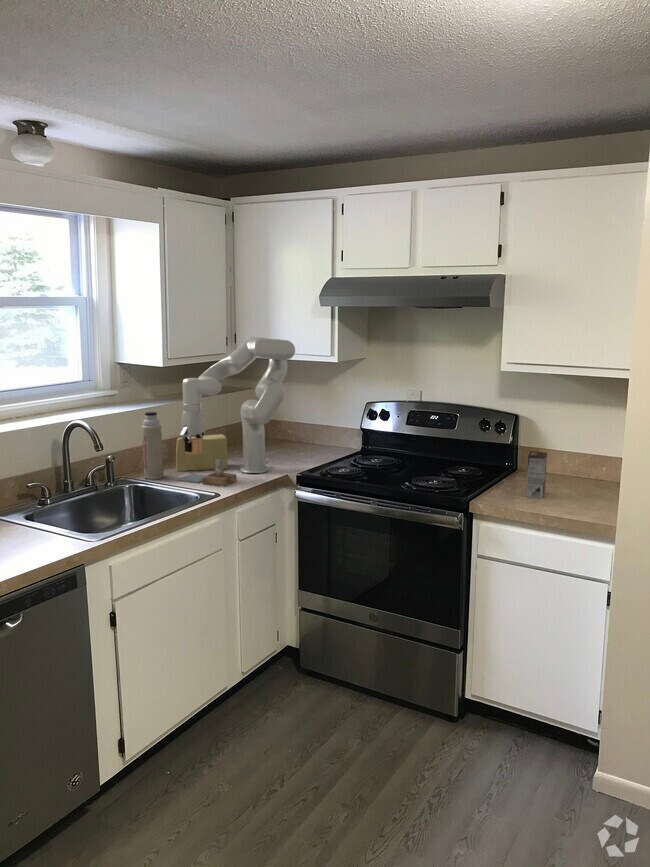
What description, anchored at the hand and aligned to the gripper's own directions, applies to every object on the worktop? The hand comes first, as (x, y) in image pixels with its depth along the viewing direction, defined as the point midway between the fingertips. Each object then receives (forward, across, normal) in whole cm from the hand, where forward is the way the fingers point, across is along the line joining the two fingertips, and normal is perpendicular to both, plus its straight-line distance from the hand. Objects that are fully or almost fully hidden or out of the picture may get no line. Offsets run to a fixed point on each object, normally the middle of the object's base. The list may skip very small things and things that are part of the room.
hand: (193, 449), depth 302 cm
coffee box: (+11, -35, +134) cm, 139 cm away
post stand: (+12, +1, +13) cm, 18 cm away
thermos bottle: (+13, +5, -18) cm, 22 cm away
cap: (+1, 0, 0) cm, 1 cm away
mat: (+13, 0, 0) cm, 13 cm away
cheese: (+13, -17, -8) cm, 23 cm away
